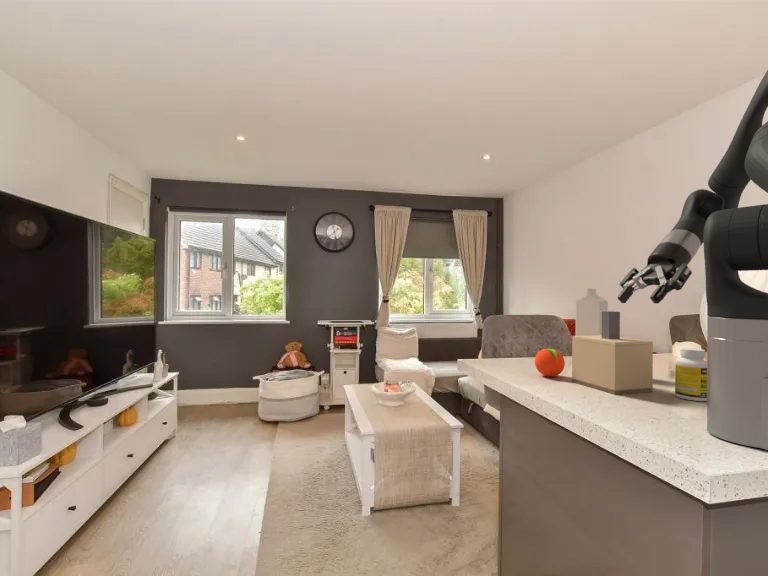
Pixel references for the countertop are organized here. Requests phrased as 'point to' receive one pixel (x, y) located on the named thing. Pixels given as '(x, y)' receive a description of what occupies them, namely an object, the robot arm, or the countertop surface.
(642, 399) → the countertop surface
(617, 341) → the lid
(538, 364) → the clementine
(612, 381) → the carton
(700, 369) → the supplement bottle
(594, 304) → the milk
